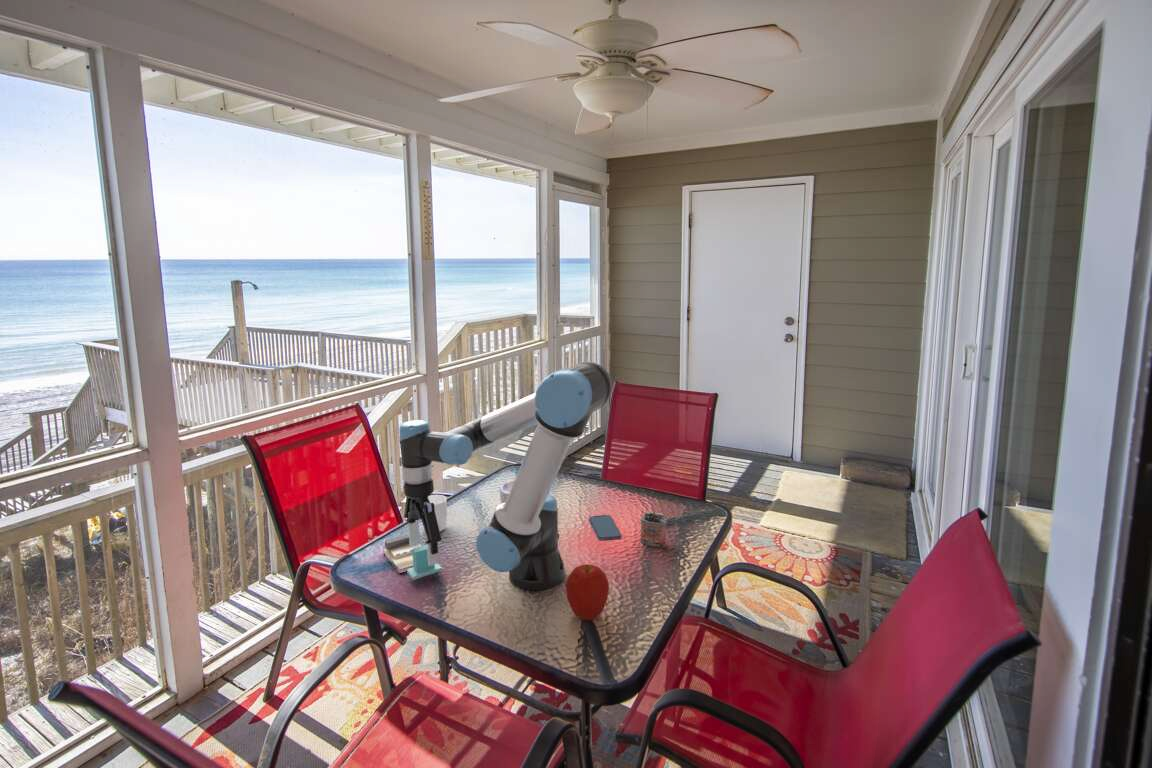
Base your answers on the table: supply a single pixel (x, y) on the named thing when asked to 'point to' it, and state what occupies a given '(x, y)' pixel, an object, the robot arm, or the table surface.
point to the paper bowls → (505, 490)
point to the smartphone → (604, 527)
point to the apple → (587, 591)
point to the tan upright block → (653, 529)
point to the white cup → (439, 509)
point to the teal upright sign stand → (421, 563)
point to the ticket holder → (400, 551)
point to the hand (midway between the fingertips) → (424, 554)
